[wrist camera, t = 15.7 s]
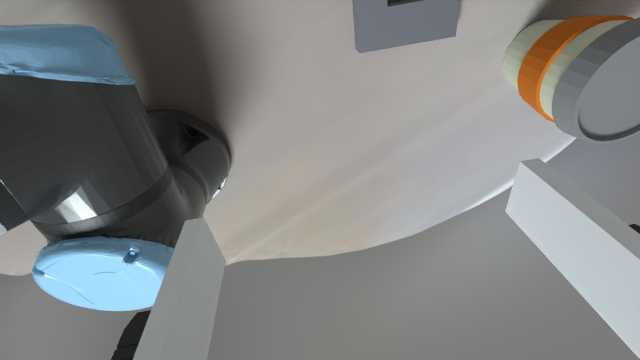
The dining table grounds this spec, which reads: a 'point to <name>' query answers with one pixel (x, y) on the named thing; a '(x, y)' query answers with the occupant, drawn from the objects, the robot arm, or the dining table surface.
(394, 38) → the block
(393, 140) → the dining table surface
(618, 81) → the reusable coffee cup
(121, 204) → the robot arm
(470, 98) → the dining table surface
